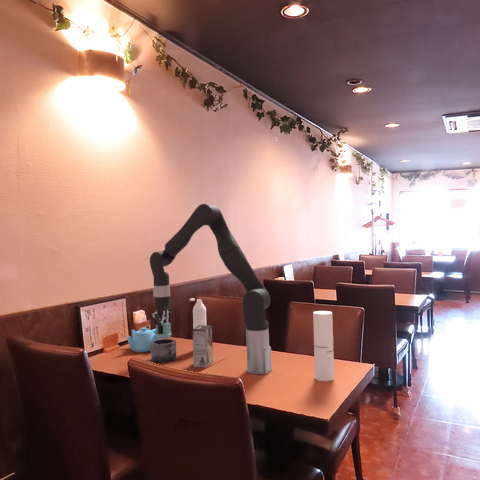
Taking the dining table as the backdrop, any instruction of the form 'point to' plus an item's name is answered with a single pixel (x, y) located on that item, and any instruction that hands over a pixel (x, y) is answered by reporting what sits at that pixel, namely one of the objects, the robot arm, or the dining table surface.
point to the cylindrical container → (323, 345)
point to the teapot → (142, 339)
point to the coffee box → (202, 346)
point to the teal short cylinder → (164, 331)
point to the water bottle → (199, 313)
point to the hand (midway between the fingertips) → (163, 332)
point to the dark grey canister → (163, 350)
